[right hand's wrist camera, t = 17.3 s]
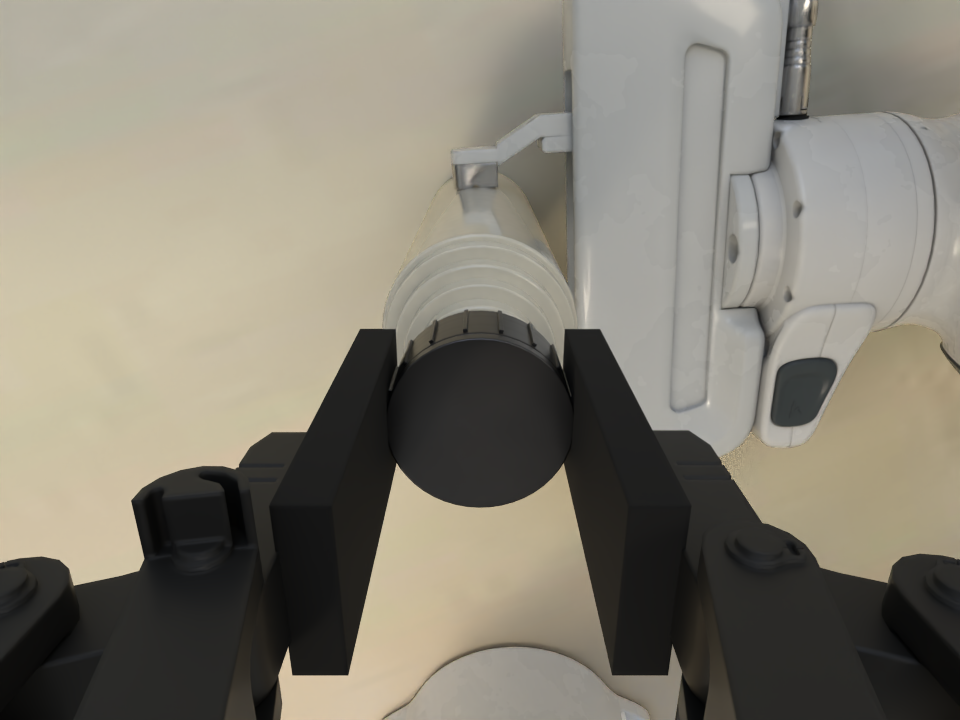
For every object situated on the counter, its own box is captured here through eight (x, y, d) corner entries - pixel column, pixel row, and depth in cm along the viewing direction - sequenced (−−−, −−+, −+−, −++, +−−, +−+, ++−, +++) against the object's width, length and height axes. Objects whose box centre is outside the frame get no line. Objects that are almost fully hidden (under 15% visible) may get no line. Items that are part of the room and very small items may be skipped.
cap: (547, 288, 13) (556, 314, 12) (582, 445, 15) (594, 488, 13) (372, 329, 14) (357, 361, 12) (421, 480, 15) (414, 527, 14)
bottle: (541, 263, 34) (629, 503, 14) (441, 284, 34) (386, 547, 14) (521, 158, 32) (591, 259, 12) (416, 182, 33) (311, 319, 12)
